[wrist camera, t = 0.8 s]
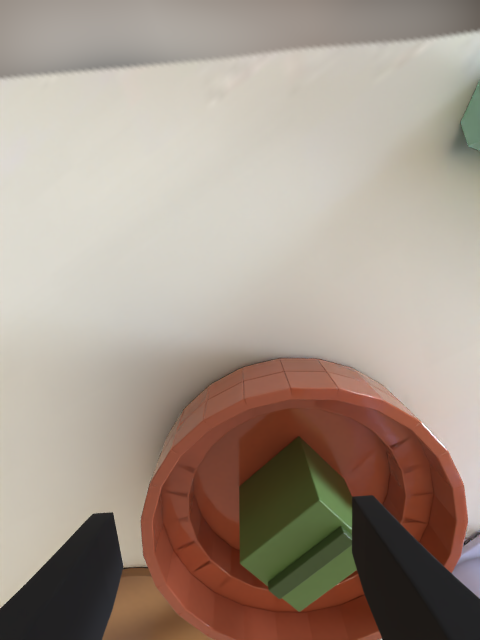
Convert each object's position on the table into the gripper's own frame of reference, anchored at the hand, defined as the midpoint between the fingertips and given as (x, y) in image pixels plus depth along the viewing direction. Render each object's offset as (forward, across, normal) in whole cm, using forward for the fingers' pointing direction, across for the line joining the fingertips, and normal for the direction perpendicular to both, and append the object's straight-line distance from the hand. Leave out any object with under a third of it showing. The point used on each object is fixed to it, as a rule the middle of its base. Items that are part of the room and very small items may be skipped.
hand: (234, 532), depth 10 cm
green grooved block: (+9, -3, +6) cm, 11 cm away
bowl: (+10, -3, +6) cm, 12 cm away
